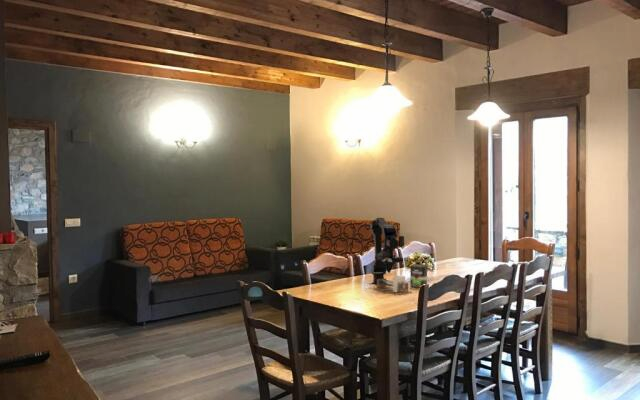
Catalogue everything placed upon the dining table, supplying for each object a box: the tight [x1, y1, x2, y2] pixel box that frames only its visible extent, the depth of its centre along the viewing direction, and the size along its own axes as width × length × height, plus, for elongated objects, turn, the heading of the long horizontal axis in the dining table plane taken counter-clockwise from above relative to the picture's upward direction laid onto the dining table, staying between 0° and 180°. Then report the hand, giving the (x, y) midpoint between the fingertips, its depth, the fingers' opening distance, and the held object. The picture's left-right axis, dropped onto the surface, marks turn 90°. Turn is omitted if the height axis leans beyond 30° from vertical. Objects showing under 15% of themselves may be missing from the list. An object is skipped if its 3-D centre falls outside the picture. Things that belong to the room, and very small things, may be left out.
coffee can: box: [409, 263, 428, 291], centre depth 326 cm, size 10×10×14 cm
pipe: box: [381, 279, 406, 294], centre depth 318 cm, size 20×10×6 cm, turn 38°
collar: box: [392, 275, 406, 292], centre depth 313 cm, size 3×7×9 cm, turn 128°
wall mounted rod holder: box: [373, 277, 413, 296], centre depth 318 cm, size 22×10×6 cm, turn 38°
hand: (388, 272), depth 319 cm, fingers closed
